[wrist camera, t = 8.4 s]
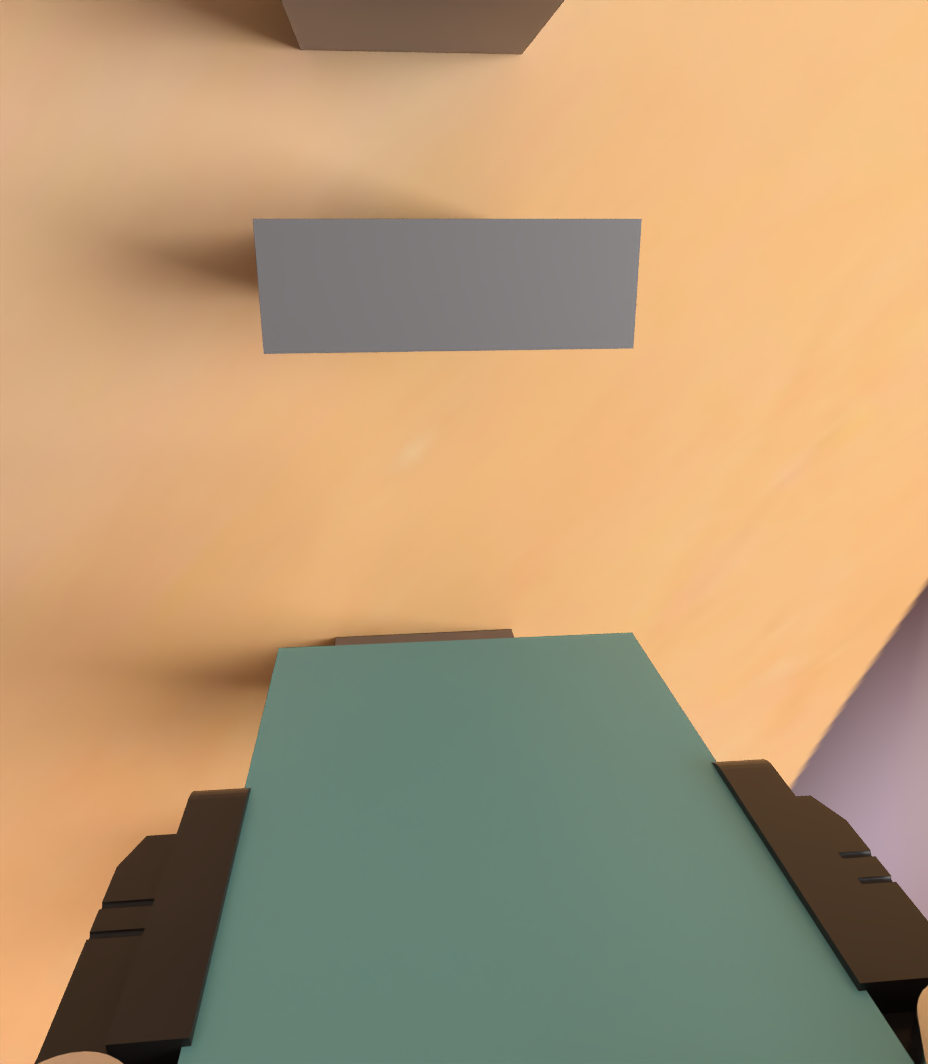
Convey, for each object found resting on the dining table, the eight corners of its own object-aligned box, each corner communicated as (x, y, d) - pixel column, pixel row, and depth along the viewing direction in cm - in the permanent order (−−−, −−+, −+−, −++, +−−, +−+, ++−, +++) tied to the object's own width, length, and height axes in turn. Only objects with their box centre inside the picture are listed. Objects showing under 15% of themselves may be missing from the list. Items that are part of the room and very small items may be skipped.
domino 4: (517, 299, 25) (633, 348, 14) (315, 300, 24) (264, 353, 13) (518, 228, 24) (642, 218, 13) (311, 228, 24) (252, 218, 12)
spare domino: (278, 647, 14) (-169, 2485, 2) (631, 632, 14) (1580, 2081, 3) (287, 751, 14) (-37, 2582, 3) (624, 732, 15) (1381, 2228, 4)
